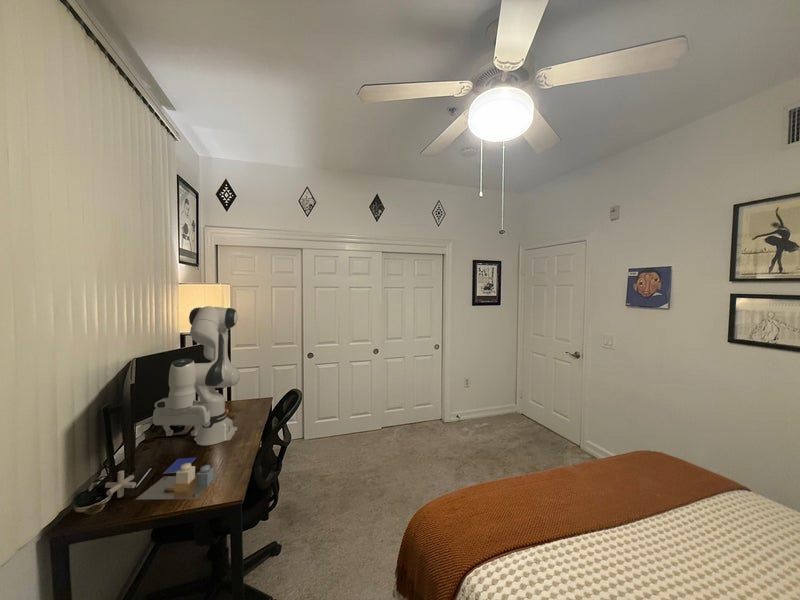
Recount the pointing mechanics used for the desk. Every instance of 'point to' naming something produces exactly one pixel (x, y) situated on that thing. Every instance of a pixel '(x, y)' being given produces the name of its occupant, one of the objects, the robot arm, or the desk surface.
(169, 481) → the plate
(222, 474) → the desk surface
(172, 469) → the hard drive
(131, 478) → the pipe connector
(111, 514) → the desk surface
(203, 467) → the blue-grey knobbed block
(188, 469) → the cream knobbed block
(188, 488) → the pigtail stub
